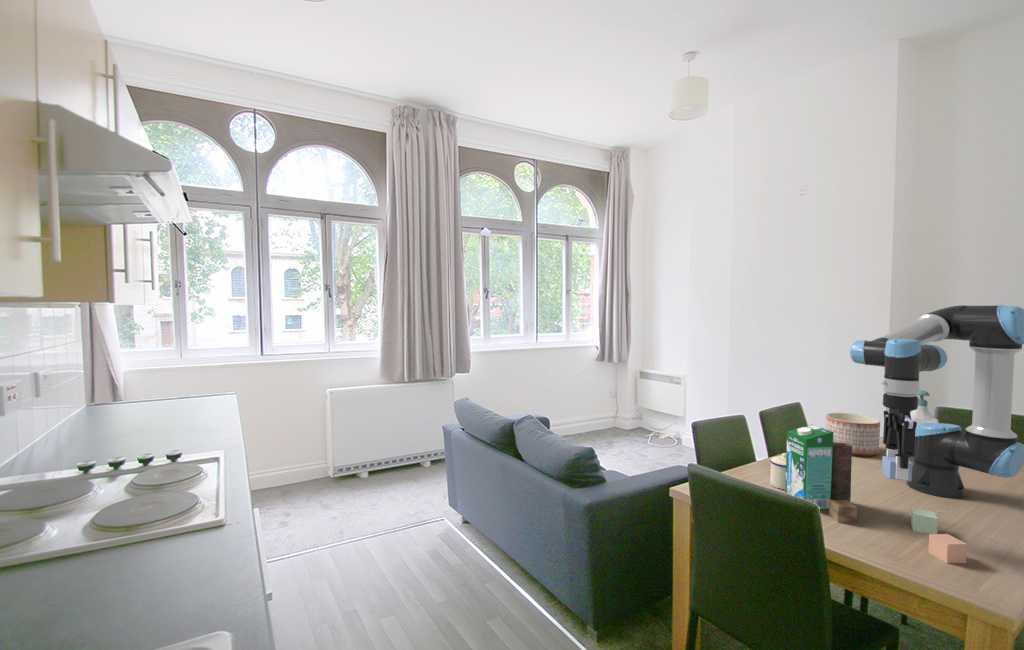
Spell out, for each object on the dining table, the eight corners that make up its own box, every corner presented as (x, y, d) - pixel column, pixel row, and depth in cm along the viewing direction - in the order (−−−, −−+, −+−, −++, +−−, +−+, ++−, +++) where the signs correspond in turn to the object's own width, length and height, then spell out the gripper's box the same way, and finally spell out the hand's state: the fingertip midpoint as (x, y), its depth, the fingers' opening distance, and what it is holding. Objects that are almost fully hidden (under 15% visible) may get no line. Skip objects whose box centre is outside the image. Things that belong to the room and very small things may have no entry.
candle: (842, 510, 145) (844, 448, 144) (817, 501, 151) (819, 441, 150) (855, 505, 148) (857, 444, 147) (830, 496, 155) (833, 438, 154)
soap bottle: (937, 452, 201) (940, 390, 199) (934, 457, 195) (938, 393, 194) (905, 446, 209) (907, 387, 208) (901, 450, 204) (904, 389, 202)
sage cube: (933, 528, 134) (934, 512, 133) (937, 536, 129) (937, 518, 129) (910, 524, 136) (911, 507, 136) (913, 531, 132) (914, 514, 132)
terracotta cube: (946, 552, 121) (947, 534, 121) (966, 563, 116) (967, 544, 116) (928, 552, 121) (929, 534, 121) (946, 563, 116) (947, 544, 116)
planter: (838, 456, 196) (840, 422, 195) (816, 443, 215) (818, 411, 214) (889, 459, 193) (890, 424, 192) (862, 445, 211) (863, 413, 211)
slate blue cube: (902, 474, 132) (903, 457, 132) (911, 481, 127) (912, 463, 127) (881, 472, 133) (882, 455, 133) (889, 479, 129) (890, 461, 128)
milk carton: (784, 497, 154) (787, 424, 153) (810, 497, 155) (812, 423, 154) (804, 510, 145) (806, 432, 144) (830, 509, 146) (833, 431, 145)
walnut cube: (846, 516, 141) (847, 500, 141) (856, 523, 136) (856, 507, 136) (828, 515, 142) (829, 499, 142) (837, 522, 137) (838, 506, 137)
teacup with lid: (794, 493, 158) (795, 460, 157) (765, 485, 165) (766, 453, 164) (805, 484, 166) (806, 452, 165) (777, 477, 173) (778, 446, 172)
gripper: (870, 387, 139) (867, 463, 140) (899, 399, 122) (895, 485, 123) (901, 389, 136) (897, 466, 138) (934, 401, 119) (930, 489, 120)
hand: (896, 475), depth 130 cm, fingers closed on slate blue cube, 5 cm apart
